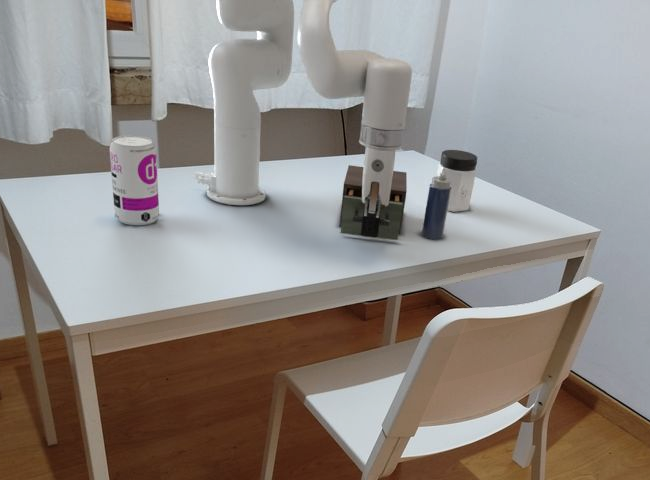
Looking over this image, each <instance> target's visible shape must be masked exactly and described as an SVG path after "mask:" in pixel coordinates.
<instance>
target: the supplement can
mask: <svg viewBox="0 0 650 480" xmlns="http://www.w3.org/2000/svg"><path fill="white" fill-rule="evenodd" d="M111 141H112V142H111V143H110V145H109V160H110V162H109V163H110V171H111V184H112V185H111V186H112V198H113V209H114V217H115V218H116V219H117V220H118V221H119V222H120V223H122V224H125V225H129V226H146V225H151V224H153V223H155V222H156V221H157V220H158V219H159V218H160V203H159V181H158V160H157V148H156V146H155V144H154V143H153V140H152V139H151V138H149V137H147V136H141V135H120V136H115V137H113V138H112V140H111Z"/></svg>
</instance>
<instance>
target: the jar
mask: <svg viewBox="0 0 650 480" xmlns="http://www.w3.org/2000/svg"><path fill="white" fill-rule="evenodd" d="M477 165H478V156H477V155H475V154H474V153H472V152H469V151H464V150H459V149H446V150H443V151H441V156H440V161H439V162H438V165H437V173H436V177H437V176H439V174H440V173H445V174H446V178H449V179H450V180H451V188H452V189H451V194H450V200H449V205H448V211H447V212H452V213H457V212H463V211H464V212H465V211H468V210H469V209H470V204H471V200H472V194H473V189H474V185H475V179H476V174H477V170H476V168H477Z"/></svg>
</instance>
